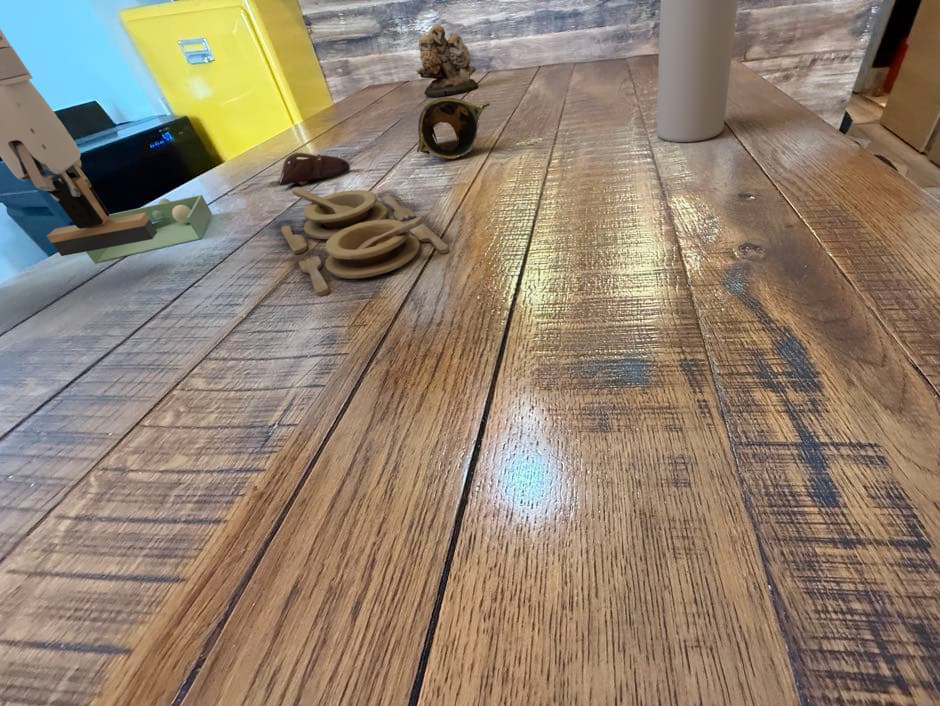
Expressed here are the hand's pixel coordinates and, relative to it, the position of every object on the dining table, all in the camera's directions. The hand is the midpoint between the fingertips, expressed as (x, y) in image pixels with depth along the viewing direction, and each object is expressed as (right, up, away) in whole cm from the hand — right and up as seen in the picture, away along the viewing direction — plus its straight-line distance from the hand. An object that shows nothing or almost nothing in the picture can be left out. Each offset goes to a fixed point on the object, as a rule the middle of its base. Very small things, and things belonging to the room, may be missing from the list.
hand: (94, 220), depth 73 cm
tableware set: (+36, -1, +5) cm, 37 cm away
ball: (-1, +8, +19) cm, 21 cm away
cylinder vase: (+93, +26, +26) cm, 100 cm away
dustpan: (-5, +5, +20) cm, 21 cm away
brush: (0, -3, +2) cm, 3 cm away
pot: (+46, +27, +35) cm, 64 cm away
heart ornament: (+18, +20, +33) cm, 43 cm away
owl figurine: (+36, +71, +86) cm, 117 cm away
